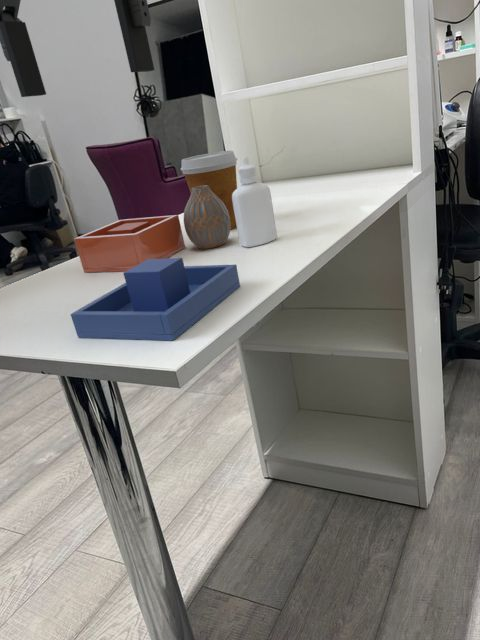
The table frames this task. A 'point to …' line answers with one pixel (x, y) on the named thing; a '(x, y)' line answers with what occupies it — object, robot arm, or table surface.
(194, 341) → the table surface
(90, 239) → the terracotta bin
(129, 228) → the rust block
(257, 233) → the eye dropper bottle
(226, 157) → the disposable coffee cup
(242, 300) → the table surface
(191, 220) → the vase
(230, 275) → the blue tray
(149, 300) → the blue block
